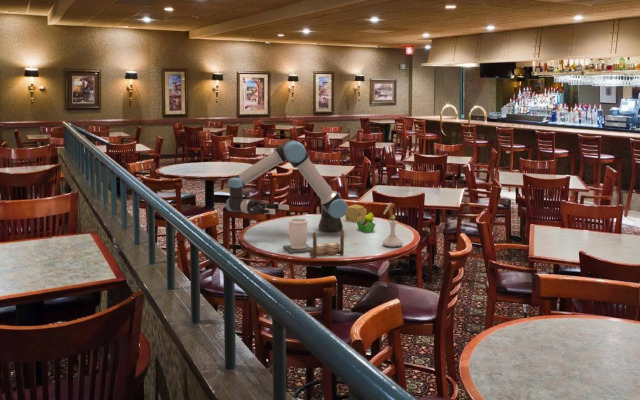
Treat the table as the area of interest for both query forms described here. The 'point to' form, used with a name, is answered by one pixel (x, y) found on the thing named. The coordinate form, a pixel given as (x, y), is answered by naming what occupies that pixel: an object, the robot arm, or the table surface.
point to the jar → (298, 233)
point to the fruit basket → (367, 223)
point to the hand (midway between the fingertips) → (281, 209)
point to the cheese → (356, 213)
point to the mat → (292, 251)
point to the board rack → (327, 247)
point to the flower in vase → (392, 238)
